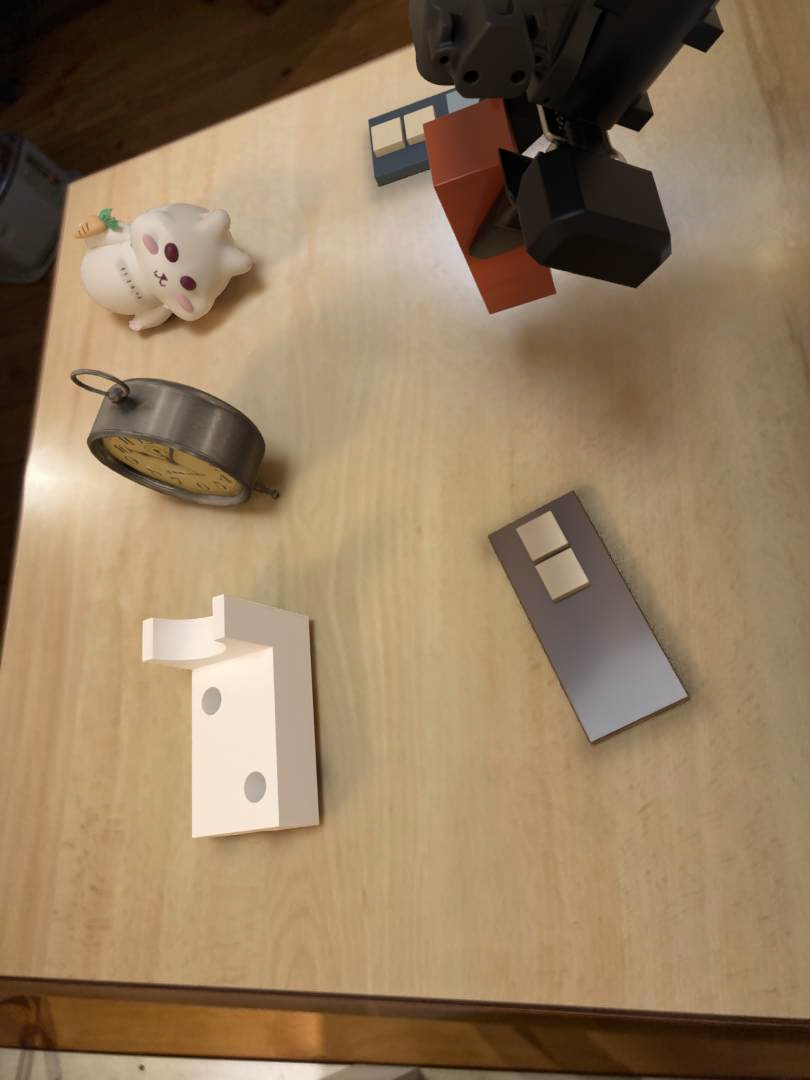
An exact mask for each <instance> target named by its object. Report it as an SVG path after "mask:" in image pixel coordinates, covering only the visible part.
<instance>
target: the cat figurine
mask: <svg viewBox="0 0 810 1080" xmlns="http://www.w3.org/2000/svg"><path fill="white" fill-rule="evenodd" d="M113 210H114V209H113V208H104V209H102V210H101V211H100V212H99V214H98V215H89V216H88V217H87V218H85V220H83V221H81V222H80V223H79V224H78V225H77V228H76V230H75V231H74V233H73V237H74V238H75V239H78V240H82V239H83V240H84V244H85V246H86V247H87V248H88V249H87V250H86V252H85V254H84V256H83V257H82V259H81V263H80V270H79V274H80V275H79V276H80V281H81V284H82V287H83V290H84V291H85V292H86V294H87V295H88V297H89V298H90V299H91V300H92V301H93V302H94V303H95V304H97V305H98V306H99V307H101V308H103V309H105V310H107V311H108V312H112V313H114V314H119V315H127V316H129V315H130V316H131V315H132V316H134V317H133V318H132V320H129V321H128V323H129V325H128V328H130V329H131V330H133V331H140V330H141V331H142V330H146V329H147V330H148V329H151V328H157V327H159V326H161V325H162V324H163V323H165V322H166V321H167V320H168V319H170V318H171V316H172V315H173V314H174V315H175V316H176V317H178V318H180V319H182V320H184V321H186V322H194V321H197V320H198V319H201V318H202V317H204V316H205V315H206V314H208V313H209V312H210V311H211V309H212V307H213V305H214V302H215V300H216V299H217V298H218V297H219V296H220V295H221V294H222V293H223V292H224V290H225V289H226V287H227V286H228V284H229V283H230V281H231V278H232V277H236V276H240V275H243V274H245V273H247V272H249V271H250V270H251V269H252V266H253V263H252V260H251V257H249V255H247V254H246V253H245V252H243V251H242V250H240V249H239V248H237V247H236V243H235V239H234V237H233V235H232V233H231V231H230V229H231V216H230V214H229V212H228V211H227V210H225V209H223V208H219V209H216V210H211V211H210V210H209V209H207V208H205V207H202V206H200V205H198V204H193V203H184V202H183V203H181V202H180V203H177V202H176V203H168V204H167V203H166V204H160V205H155V206H154V207H151V208H149V209H148V210H146V211H145V212H144V213H142V214H139V215H137V216H136V217H135V218H133V220H132V221H129V222H125V221H122V220H118V219H116V217H115V216H113V217H112V215H111V214H112V211H113Z"/></svg>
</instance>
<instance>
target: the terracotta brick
mask: <svg viewBox="0 0 810 1080" xmlns="http://www.w3.org/2000/svg"><path fill="white" fill-rule="evenodd" d="M423 130H424V136H425V141H426V147H427V153H428V159H429V164H430V169H429V170H430V175H431V180H432V187H433V189H434V192H435V194H436V196H437V198H438V200H439V203H440V206H441V208H442V210H443V212H444V215H445V217H446V218H447V220H448V223H449V226H450V228H451V231H452V233H453V235H454V237H455V240H456V242H457V244H458V246H459V248H460V251H461V253H462V255H463V257H464V260H465V262H466V264H467V267H468V269H469V271H470V274H471V276H472V278H473V280H474V282H475V285H476V287H477V289H478V291H479V294H480V296H481V298H482V300H483V303H484V305H485V308H486V310H487V312H488V315H494V314H497V313H500V312H503V311H507V310H510V309H513V308H516V307H519V306H522V305H526V304H529V303H532V302H535V301H538V300H541V299H545V298H548V297H551V296H554V295H557V289H556V284H555V280H554V276H553V271H552V268H548V267H544V266H540V265H539V264H538V263H537V262H536V261H535V260H534V259H533V258H532V257H531V256H530V255H529V254H528V253H527V252H526V248H525V245H522V246H520V247H517V248H515V249H512V250H510V251H507V252H505V253H502V254H500V255H497V256H495V257H492V258H490V259H487V260H482V259H478V258H473V257H471V256H470V255H469V250H468V249H469V247H470V245H471V243H472V240H473V238H474V236H475V234H476V232H477V230H478V228H479V227H480V225H481V223H482V221H483V220H484V218H485V216H486V215H487V213H488V211H489V210H490V208H491V206H492V204H493V203H494V201H495V199H496V198H497V196H498V194H499V193H500V191H501V189H502V187H503V186H504V179H503V175H502V170H501V165H500V161H499V156H498V148H502V149H505V150H509V151H512V152H515V153H518V154H519V150H518V147H517V143H516V140H515V137H514V133H513V130H512V126H511V123H510V119H509V116H508V112H507V109H506V105H505V102H504V99H503V98H492V99H486V100H484V101H481V102H478V103H476V104H473V105H471V106H468V107H465V108H463V109H460V110H458V111H455V112H452V113H450V114H447V115H445V116H442V117H439V118H437V119H434V120H432V121H429V122H426V123H424V124H423Z"/></svg>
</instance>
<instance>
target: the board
mask: <svg viewBox="0 0 810 1080" xmlns="http://www.w3.org/2000/svg"><path fill="white" fill-rule="evenodd" d="M487 539H488V541H489V542H490V544H491V546H492V549H493V550H494V553H495V554H496V556H497V559H498V561H499V562H500V565H501V566H502V569H503V571H504V573H505V575H506V577H507V579H508V581H509V583H510V585H511V587H512V589H513V591H514V593H515V595H516V597H517V599H518V601H519V603H520V605H521V608H522V610H523V611H524V613H525V615H526V617H527V620H528V621H529V623H530V626H531V627H532V629H533V632H534V633H535V635H536V637H537V639H538V641H539V643H540V646H541V647H542V649H543V652H544V653H545V655H546V658H547V659H548V661H549V664H550V666H551V668H552V670H553V671H554V674H555V676H556V678H557V680H558V682H559V684H560V686H561V688H562V691H563V692H564V694H565V696H566V698H567V700H568V702H569V704H570V706H571V708H572V710H573V713H574V714H575V716H576V718H577V720H578V722H579V725H580V726H581V728H582V730H583V732H584V735H585V737H586V738H587V741H588V742H589V744H591V745H592V746H593V745H596V744H598V743H600V742H603V741H605V740H606V739H609V738H611V737H613V736H615V735H617V734H619V733H622V732H624V731H626V730H628V729H630V728H632V727H634V726H636V725H639V724H641V723H642V722H645V721H647V720H649V719H651V718H653V717H655V716H658V715H659V714H662V713H664V712H666V711H668V710H670V709H672V708H674V707H677V706H678V705H681V704H683V703H685V702H687V701H689V700H690V698H691V697H690V694H689V692H688V691H687V689H686V687H685V686H684V684H683V682H682V680H681V678H680V677H679V675H678V673H677V671H676V669H675V667H674V666H673V664H672V662H671V661H670V658H669V657H668V655H667V653H666V652H665V650H664V648H663V646H662V645H661V642H660V641H659V639H658V637H657V636H656V634H655V633H654V630H653V628H652V627H651V625H650V623H649V622H648V619H647V618H646V616H645V614H644V612H643V611H642V609H641V607H640V605H639V604H638V602H637V600H636V598H635V596H634V594H633V593H632V591H631V589H630V587H629V586H628V584H627V583H626V580H625V579H624V577H623V575H622V573H621V572H620V570H619V568H618V566H617V565H616V563H615V561H614V560H613V558H612V555H611V553H610V552H609V551H608V549H607V546H606V545H605V543H604V542H603V540H602V538H601V536H600V534H599V533H598V531H597V529H596V527H595V525H594V523H593V521H592V520H591V519H590V517H589V515H588V512H586V510H585V508H584V506H583V504H582V503H581V500H580V499H579V497H578V495H577V493H576V492H575V491H574V490H571V491H569V492H567V493H565V494H564V495H562V496H559V497H557V498H556V499H554V500H552V501H550V502H548V503H546V504H544V505H543V506H540V507H539V508H537V509H534V510H533V511H531V512H529V513H527V514H526V515H524V516H521V517H520V518H518V519H515V520H514V521H512V522H510V523H508V524H507V525H505V526H503V527H501V528H499V529H497V530H496V531H494V532H492V533H490V534H488V535H487Z"/></svg>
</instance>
